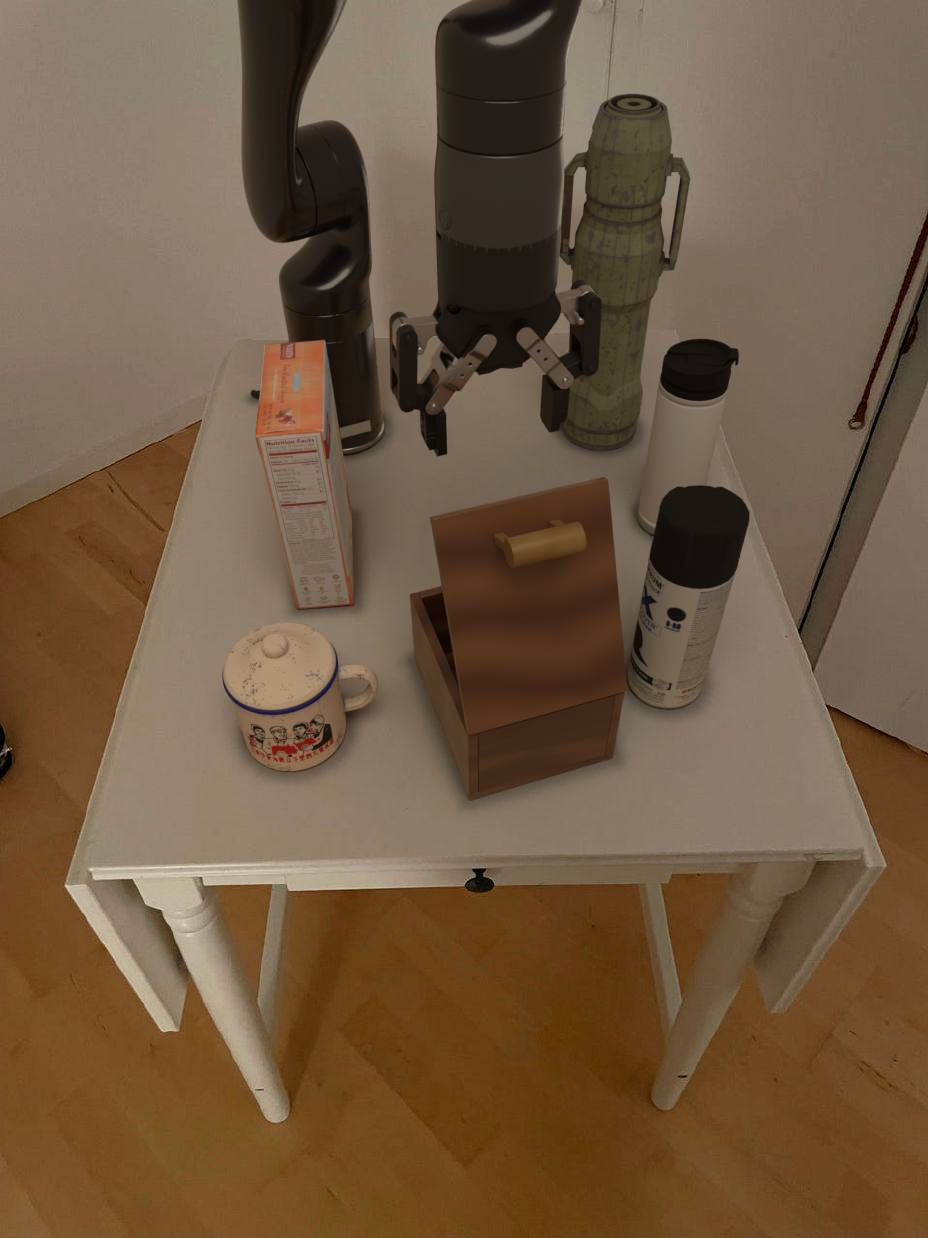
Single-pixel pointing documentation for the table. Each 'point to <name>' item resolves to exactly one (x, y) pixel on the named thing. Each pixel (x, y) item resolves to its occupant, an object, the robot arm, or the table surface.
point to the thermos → (620, 257)
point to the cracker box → (306, 472)
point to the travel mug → (685, 421)
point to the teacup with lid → (291, 694)
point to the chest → (516, 746)
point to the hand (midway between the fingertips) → (494, 437)
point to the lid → (532, 603)
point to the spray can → (685, 592)
